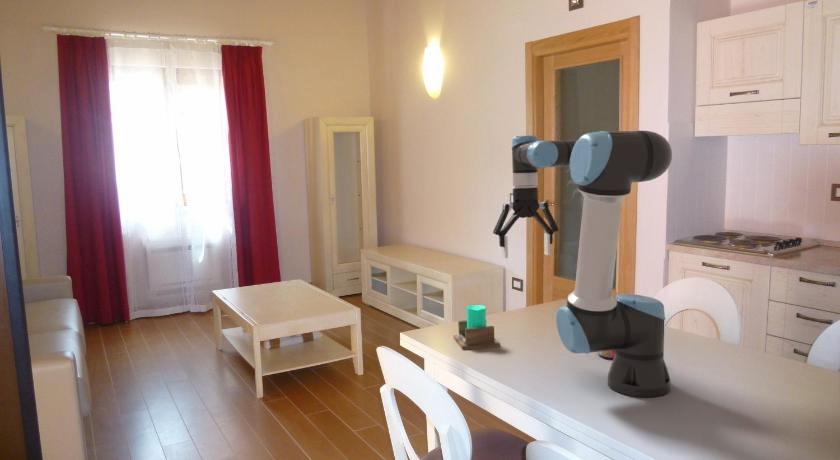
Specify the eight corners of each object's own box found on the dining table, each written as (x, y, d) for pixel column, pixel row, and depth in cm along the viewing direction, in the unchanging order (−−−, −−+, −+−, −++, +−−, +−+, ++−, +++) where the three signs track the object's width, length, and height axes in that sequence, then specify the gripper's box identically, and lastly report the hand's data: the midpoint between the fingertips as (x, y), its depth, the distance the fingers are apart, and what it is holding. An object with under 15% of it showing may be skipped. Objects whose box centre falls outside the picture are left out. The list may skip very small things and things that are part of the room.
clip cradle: (500, 346, 192) (499, 327, 192) (462, 349, 190) (462, 330, 190) (489, 335, 204) (488, 317, 203) (453, 338, 202) (453, 320, 201)
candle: (464, 340, 196) (463, 303, 194) (471, 335, 201) (471, 299, 200) (481, 342, 193) (481, 305, 192) (489, 337, 198) (488, 301, 197)
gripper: (558, 184, 194) (559, 251, 196) (482, 188, 189) (483, 256, 192) (569, 185, 187) (569, 255, 189) (489, 189, 182) (491, 260, 184)
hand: (526, 256), depth 190 cm, fingers open, 13 cm apart
